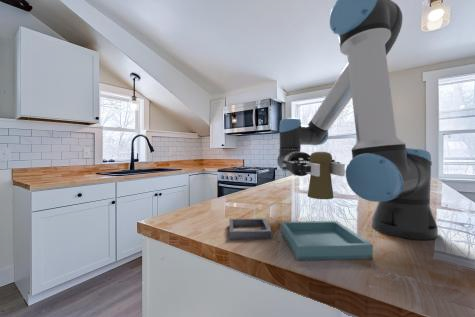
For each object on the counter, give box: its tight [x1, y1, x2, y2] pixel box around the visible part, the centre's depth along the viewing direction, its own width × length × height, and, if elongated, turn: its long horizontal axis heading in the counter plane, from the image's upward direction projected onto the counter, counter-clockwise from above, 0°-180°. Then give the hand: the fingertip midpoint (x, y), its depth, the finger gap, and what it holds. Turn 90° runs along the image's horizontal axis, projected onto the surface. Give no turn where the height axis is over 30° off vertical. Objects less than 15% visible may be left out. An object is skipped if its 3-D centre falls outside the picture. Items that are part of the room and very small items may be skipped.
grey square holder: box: [229, 217, 273, 241], centre depth 64 cm, size 11×11×2 cm
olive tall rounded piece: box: [307, 151, 334, 200], centre depth 55 cm, size 6×6×11 cm
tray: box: [280, 220, 374, 262], centre depth 55 cm, size 16×16×3 cm
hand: (330, 170), depth 50 cm, fingers closed on olive tall rounded piece, 5 cm apart
